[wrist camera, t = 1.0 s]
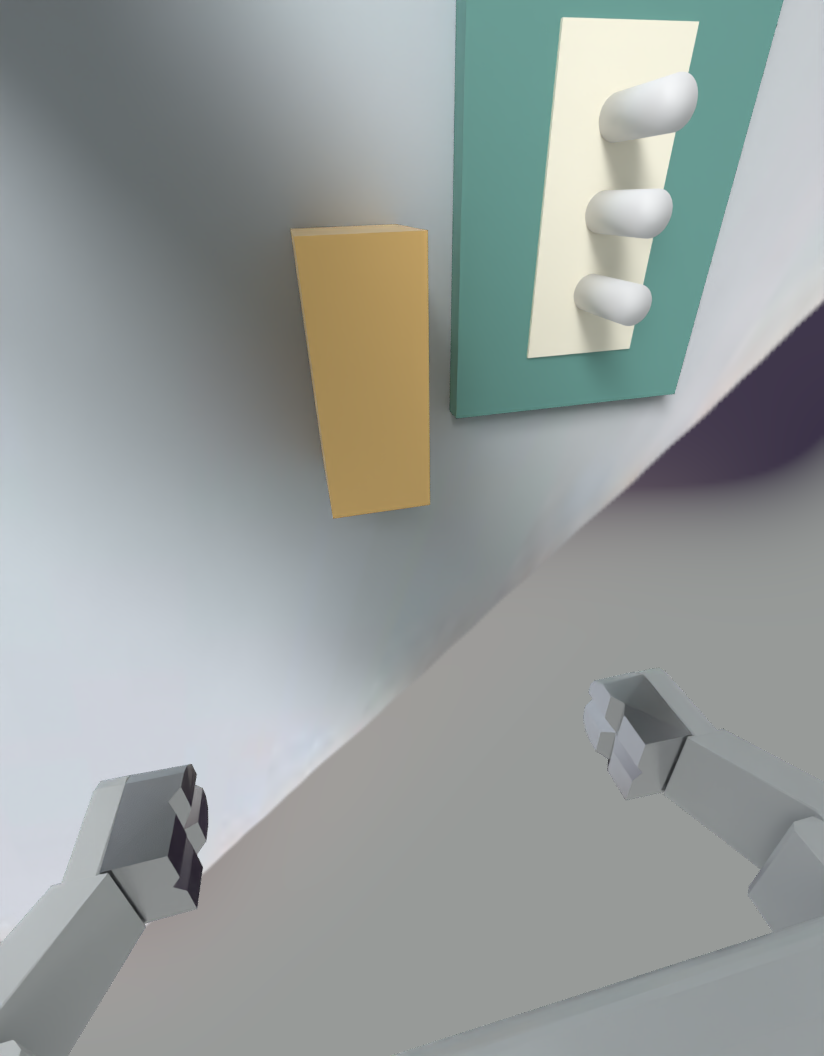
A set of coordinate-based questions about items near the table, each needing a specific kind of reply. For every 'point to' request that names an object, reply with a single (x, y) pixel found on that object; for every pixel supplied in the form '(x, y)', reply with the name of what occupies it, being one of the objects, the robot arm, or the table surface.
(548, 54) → the board
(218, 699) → the table surface
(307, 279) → the block
